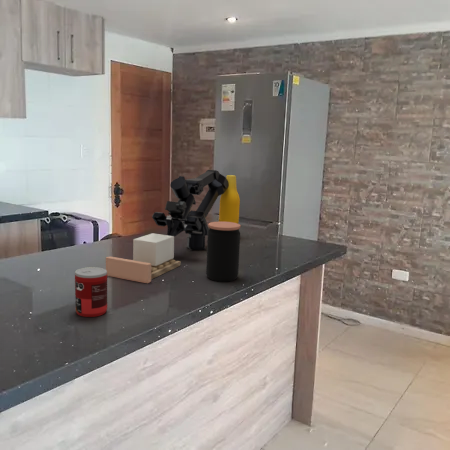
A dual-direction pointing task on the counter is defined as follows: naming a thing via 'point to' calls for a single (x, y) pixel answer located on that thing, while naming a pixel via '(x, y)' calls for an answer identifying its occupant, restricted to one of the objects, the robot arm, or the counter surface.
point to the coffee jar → (223, 251)
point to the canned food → (91, 291)
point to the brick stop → (128, 269)
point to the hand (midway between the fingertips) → (168, 239)
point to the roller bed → (163, 268)
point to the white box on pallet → (153, 249)
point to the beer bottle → (230, 202)
